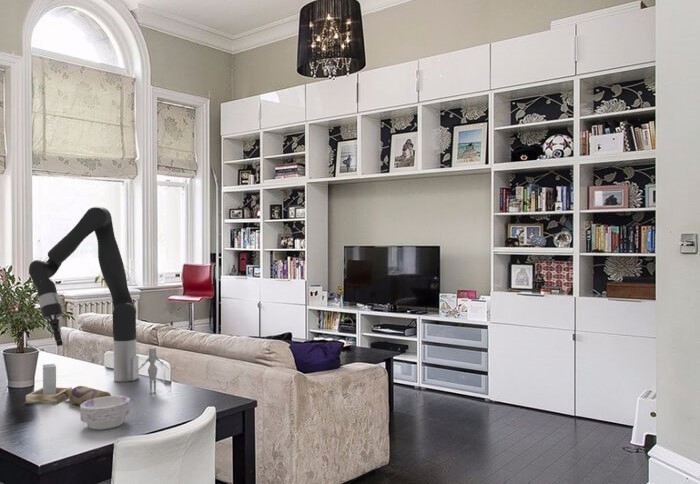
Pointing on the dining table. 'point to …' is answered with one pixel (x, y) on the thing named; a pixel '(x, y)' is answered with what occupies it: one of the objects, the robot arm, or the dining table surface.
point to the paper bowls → (105, 411)
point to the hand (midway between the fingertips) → (59, 343)
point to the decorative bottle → (84, 394)
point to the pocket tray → (46, 396)
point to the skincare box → (49, 379)
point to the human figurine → (152, 368)
